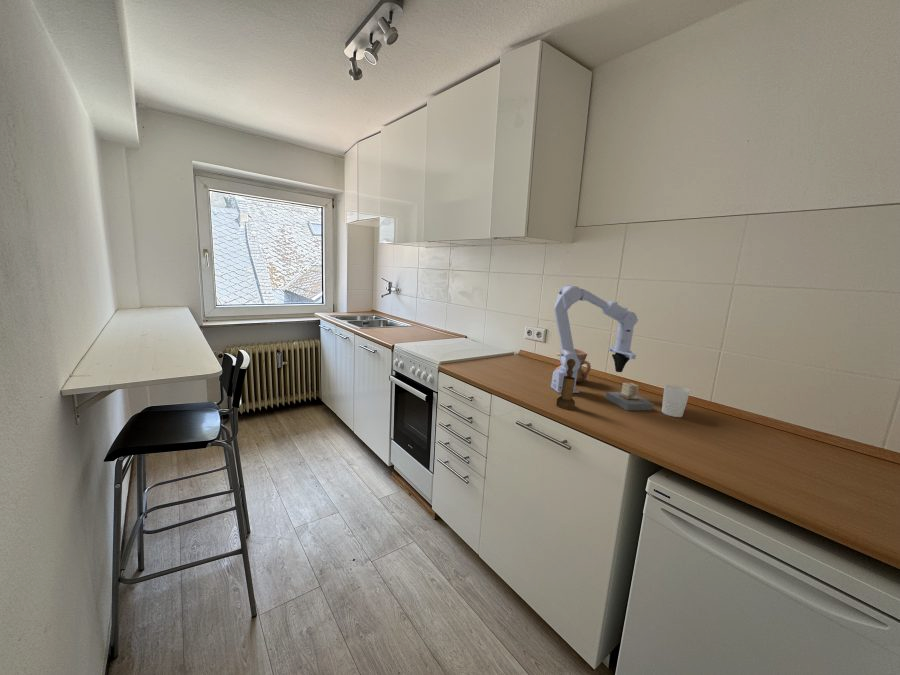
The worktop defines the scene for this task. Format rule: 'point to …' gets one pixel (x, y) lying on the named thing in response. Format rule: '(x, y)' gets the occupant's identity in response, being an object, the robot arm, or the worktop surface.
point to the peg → (629, 391)
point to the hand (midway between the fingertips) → (618, 371)
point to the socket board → (629, 402)
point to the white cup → (674, 400)
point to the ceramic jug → (581, 373)
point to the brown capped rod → (567, 388)
